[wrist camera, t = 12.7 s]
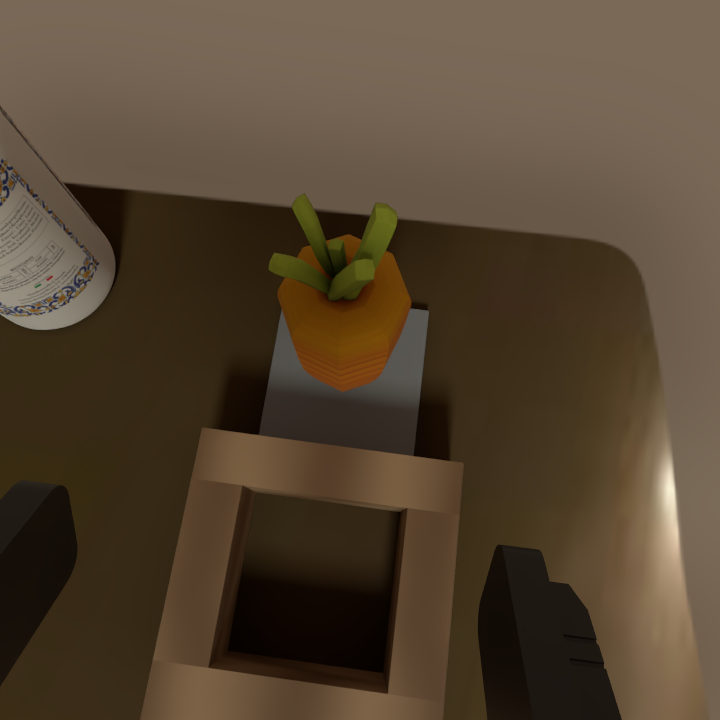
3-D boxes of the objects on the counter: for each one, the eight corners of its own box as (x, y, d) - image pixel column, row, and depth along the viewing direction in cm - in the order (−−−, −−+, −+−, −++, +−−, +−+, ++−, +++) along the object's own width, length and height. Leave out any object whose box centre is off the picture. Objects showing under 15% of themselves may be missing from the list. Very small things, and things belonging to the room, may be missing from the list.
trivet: (260, 437, 31) (258, 435, 31) (286, 296, 33) (284, 292, 33) (412, 457, 31) (413, 456, 30) (427, 314, 33) (428, 310, 33)
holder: (168, 697, 28) (139, 722, 24) (220, 441, 31) (202, 427, 27) (426, 735, 27) (438, 767, 23) (449, 472, 31) (463, 463, 27)
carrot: (294, 417, 31) (246, 303, 16) (303, 327, 32) (266, 152, 18) (390, 424, 31) (425, 316, 16) (395, 333, 32) (431, 163, 18)
